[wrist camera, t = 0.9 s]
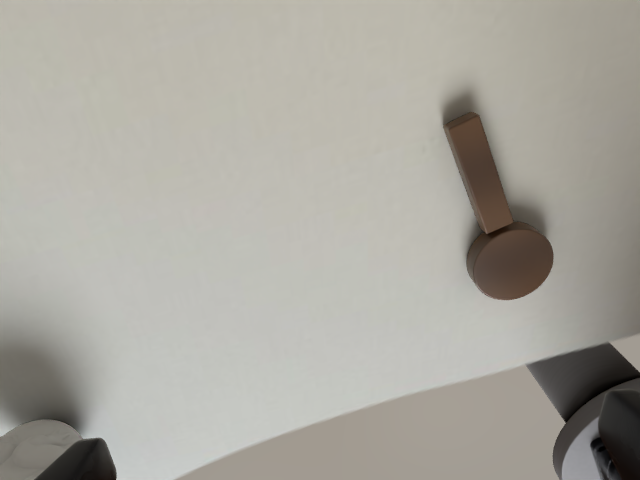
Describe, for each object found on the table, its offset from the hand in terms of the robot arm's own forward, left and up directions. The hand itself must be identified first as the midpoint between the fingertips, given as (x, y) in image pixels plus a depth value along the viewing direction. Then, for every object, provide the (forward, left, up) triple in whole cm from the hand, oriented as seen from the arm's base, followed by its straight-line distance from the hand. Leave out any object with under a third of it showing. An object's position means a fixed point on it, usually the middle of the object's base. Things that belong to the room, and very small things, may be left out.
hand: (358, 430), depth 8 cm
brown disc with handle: (-5, -7, -14) cm, 17 cm away
